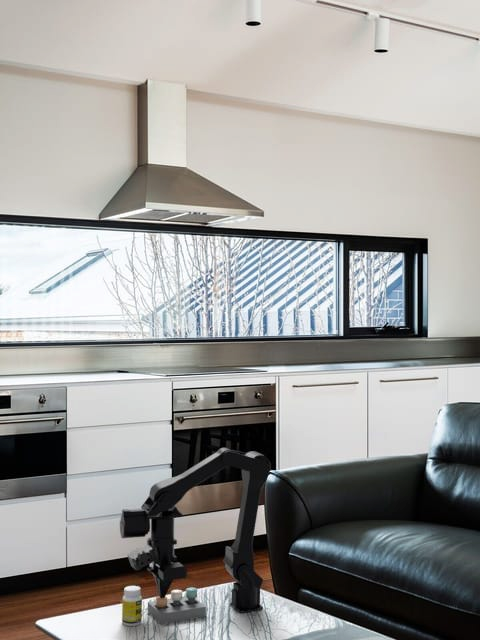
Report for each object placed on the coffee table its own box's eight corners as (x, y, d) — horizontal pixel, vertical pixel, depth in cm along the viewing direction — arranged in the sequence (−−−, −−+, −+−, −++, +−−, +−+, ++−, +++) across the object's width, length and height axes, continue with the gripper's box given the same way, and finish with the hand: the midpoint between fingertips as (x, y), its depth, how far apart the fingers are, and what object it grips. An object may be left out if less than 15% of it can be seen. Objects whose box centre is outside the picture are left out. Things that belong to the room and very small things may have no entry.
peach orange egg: (164, 610, 214) (164, 595, 214) (168, 614, 212) (169, 598, 212) (154, 612, 213) (154, 596, 213) (158, 616, 210) (158, 600, 210)
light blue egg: (194, 602, 218) (194, 586, 218) (198, 606, 215) (198, 590, 215) (184, 604, 216) (184, 588, 216) (188, 607, 214) (188, 591, 214)
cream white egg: (179, 604, 216) (179, 589, 216) (183, 608, 213) (184, 592, 213) (169, 606, 215) (169, 590, 215) (173, 610, 212) (173, 594, 212)
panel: (191, 604, 221) (191, 595, 221) (205, 616, 213) (205, 606, 213) (147, 611, 215) (147, 601, 215) (160, 623, 207) (160, 613, 207)
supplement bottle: (138, 627, 205) (138, 592, 205) (119, 625, 206) (119, 590, 206) (144, 619, 210) (144, 585, 210) (125, 618, 211) (126, 584, 211)
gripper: (119, 529, 217) (119, 590, 217) (144, 548, 200) (143, 615, 200) (160, 524, 222) (160, 584, 222) (188, 543, 205) (187, 608, 205)
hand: (162, 597), depth 212 cm, fingers closed, pressing on peach orange egg
